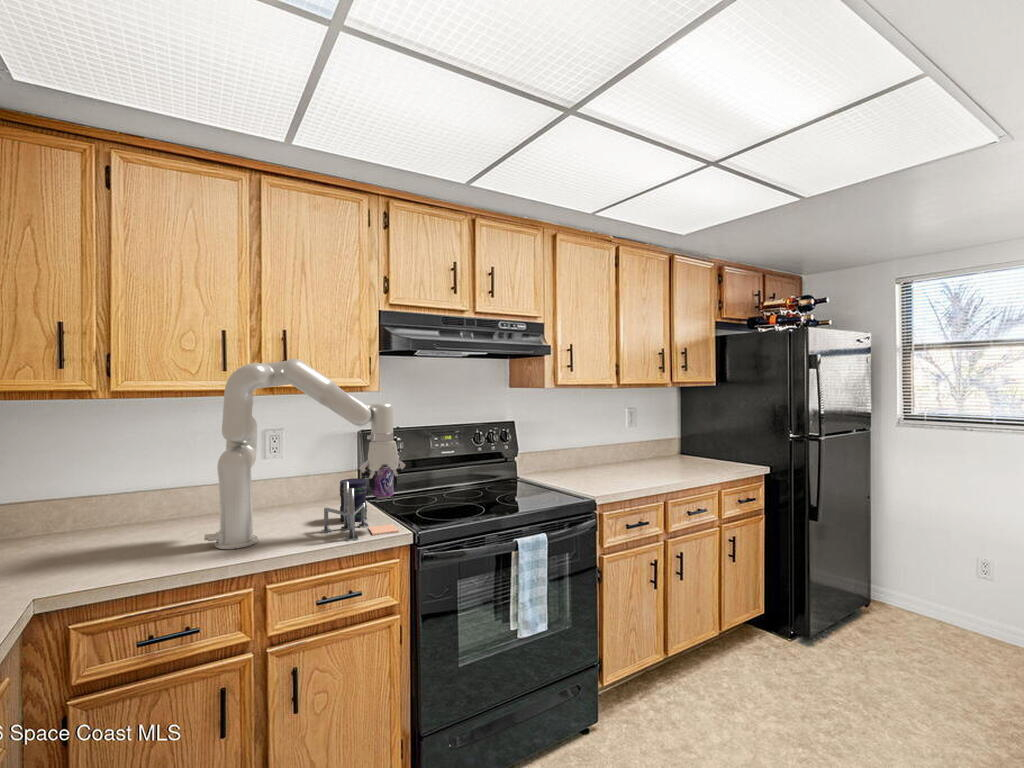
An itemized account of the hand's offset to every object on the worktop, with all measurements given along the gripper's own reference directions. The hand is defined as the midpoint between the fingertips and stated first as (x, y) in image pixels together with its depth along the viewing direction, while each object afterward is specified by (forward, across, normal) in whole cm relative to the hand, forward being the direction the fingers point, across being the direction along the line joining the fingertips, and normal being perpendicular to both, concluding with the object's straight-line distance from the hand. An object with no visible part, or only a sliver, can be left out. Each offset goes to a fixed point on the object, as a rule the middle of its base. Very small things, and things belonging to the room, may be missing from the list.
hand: (383, 487), depth 188 cm
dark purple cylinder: (+15, -8, +19) cm, 26 cm away
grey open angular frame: (+15, -12, +1) cm, 19 cm away
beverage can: (+3, 0, 0) cm, 3 cm away
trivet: (+15, 0, 0) cm, 15 cm away
